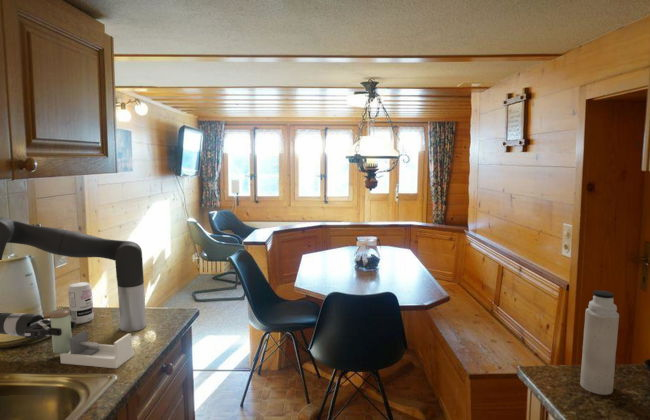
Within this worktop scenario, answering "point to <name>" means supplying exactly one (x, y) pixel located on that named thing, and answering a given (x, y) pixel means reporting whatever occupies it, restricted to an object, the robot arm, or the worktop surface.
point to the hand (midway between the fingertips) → (67, 328)
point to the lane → (103, 354)
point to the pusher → (82, 344)
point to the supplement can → (81, 302)
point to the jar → (64, 323)
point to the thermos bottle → (599, 344)
